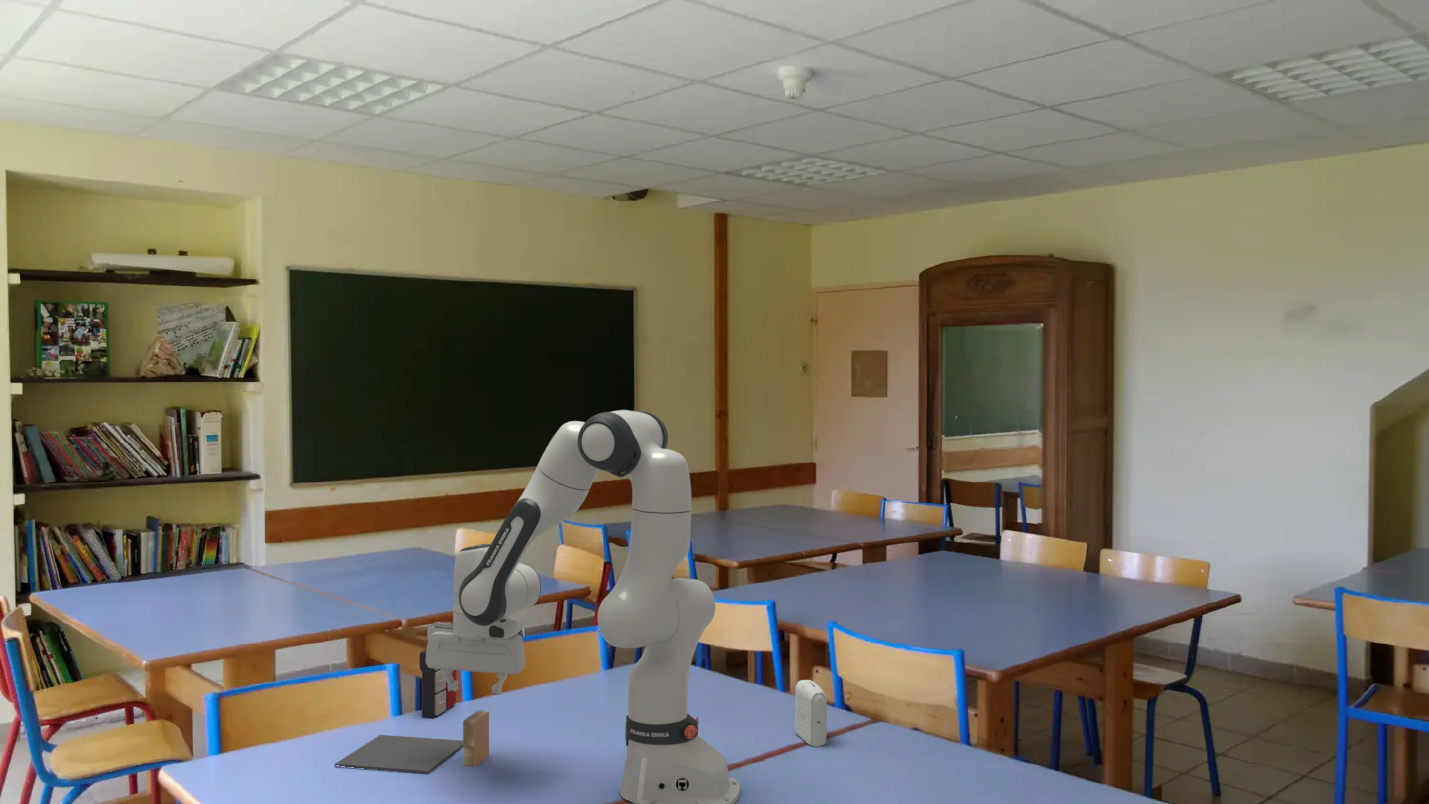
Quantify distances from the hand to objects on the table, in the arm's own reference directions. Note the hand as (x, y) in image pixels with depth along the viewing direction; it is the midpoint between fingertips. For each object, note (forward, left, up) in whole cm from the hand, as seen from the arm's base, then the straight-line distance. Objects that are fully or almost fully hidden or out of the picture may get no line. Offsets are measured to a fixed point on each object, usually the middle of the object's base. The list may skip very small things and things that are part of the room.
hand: (474, 692), depth 212 cm
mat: (+16, 0, -14) cm, 21 cm away
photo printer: (-65, -26, -14) cm, 72 cm away
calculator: (+22, -29, -14) cm, 39 cm away
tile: (0, 0, -14) cm, 14 cm away
